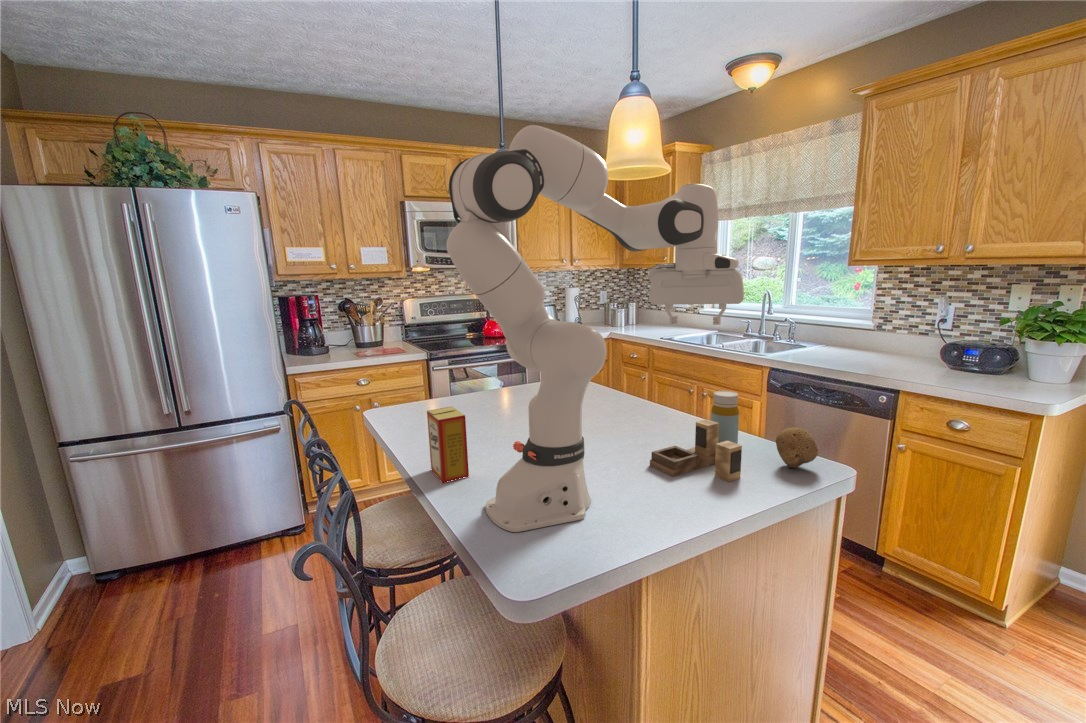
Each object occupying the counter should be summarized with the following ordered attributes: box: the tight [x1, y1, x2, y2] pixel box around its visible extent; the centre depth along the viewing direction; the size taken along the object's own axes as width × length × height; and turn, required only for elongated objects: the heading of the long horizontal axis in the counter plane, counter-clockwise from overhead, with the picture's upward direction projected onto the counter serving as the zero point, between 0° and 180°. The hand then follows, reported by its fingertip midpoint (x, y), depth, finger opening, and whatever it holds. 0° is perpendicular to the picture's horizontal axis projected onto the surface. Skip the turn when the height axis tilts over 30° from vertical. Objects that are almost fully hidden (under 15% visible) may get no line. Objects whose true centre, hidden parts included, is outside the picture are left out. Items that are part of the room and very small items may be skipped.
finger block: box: [714, 441, 743, 483], centre depth 113 cm, size 4×4×8 cm
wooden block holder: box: [649, 418, 719, 477], centre depth 122 cm, size 19×8×10 cm, turn 119°
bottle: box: [710, 390, 740, 444], centre depth 132 cm, size 7×7×15 cm
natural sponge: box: [775, 426, 819, 468], centre depth 117 cm, size 9×9×10 cm
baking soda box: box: [426, 406, 470, 484], centre depth 119 cm, size 10×6×16 cm
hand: (694, 324), depth 110 cm, fingers open, 8 cm apart
